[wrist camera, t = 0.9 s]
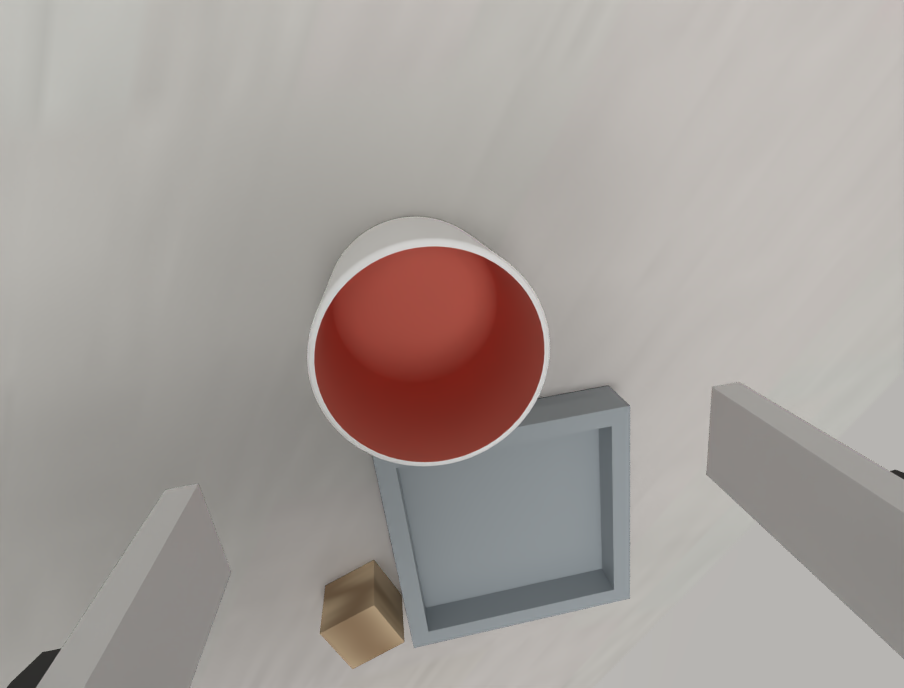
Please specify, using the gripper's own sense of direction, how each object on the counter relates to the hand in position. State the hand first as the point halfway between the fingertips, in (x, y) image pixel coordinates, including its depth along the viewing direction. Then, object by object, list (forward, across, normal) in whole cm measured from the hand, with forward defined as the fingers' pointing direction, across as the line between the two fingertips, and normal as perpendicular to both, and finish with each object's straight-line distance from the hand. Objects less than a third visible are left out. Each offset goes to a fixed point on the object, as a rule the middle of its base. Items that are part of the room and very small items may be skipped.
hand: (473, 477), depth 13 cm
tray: (+18, +4, -16) cm, 24 cm away
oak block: (+18, -7, -21) cm, 29 cm away
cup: (+18, 0, 0) cm, 18 cm away
